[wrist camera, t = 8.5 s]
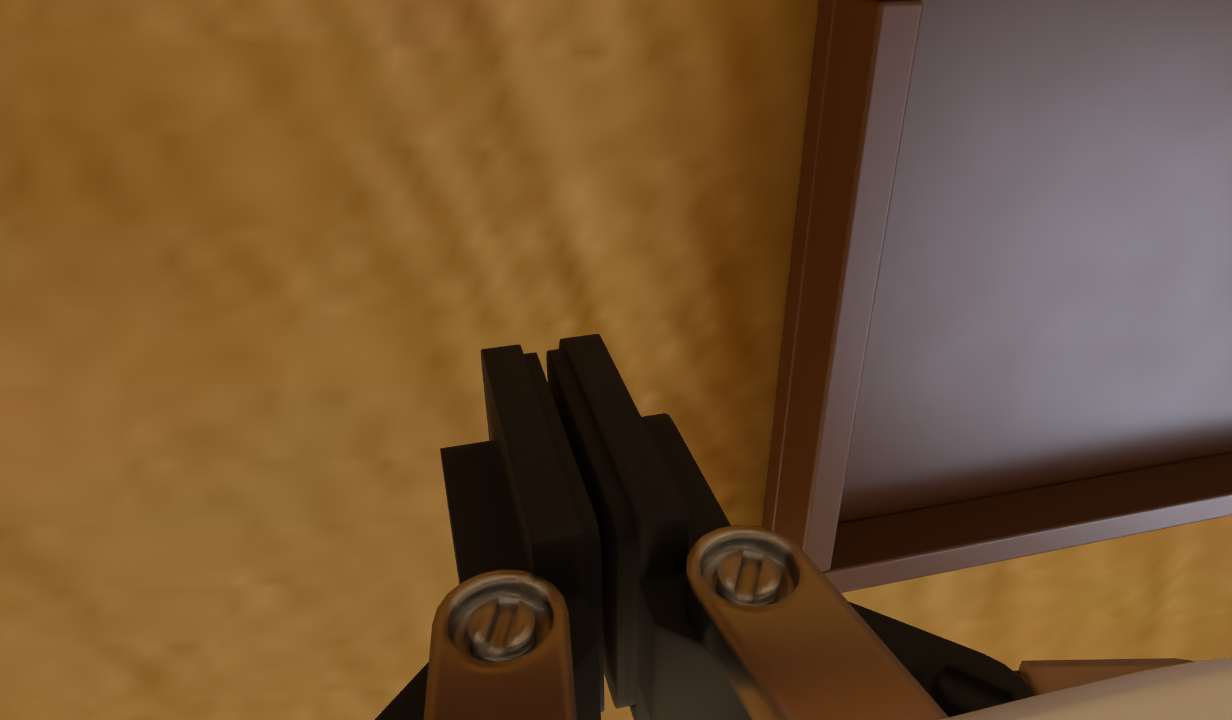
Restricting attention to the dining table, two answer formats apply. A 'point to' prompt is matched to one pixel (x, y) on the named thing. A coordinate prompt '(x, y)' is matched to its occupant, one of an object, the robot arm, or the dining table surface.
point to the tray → (1006, 283)
